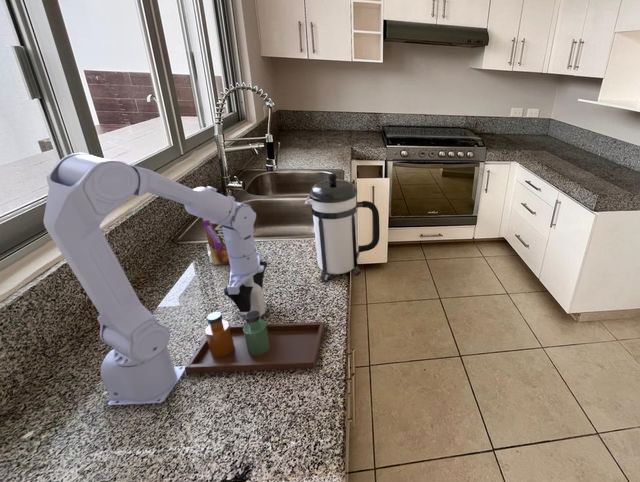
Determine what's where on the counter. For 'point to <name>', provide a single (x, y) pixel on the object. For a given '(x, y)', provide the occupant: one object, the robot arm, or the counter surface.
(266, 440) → the counter surface
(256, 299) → the eye dropper bottle
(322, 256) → the coffee press
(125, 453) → the counter surface
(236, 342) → the tray
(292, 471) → the counter surface
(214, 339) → the amber bottle
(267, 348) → the sage bottle
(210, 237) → the candy box
